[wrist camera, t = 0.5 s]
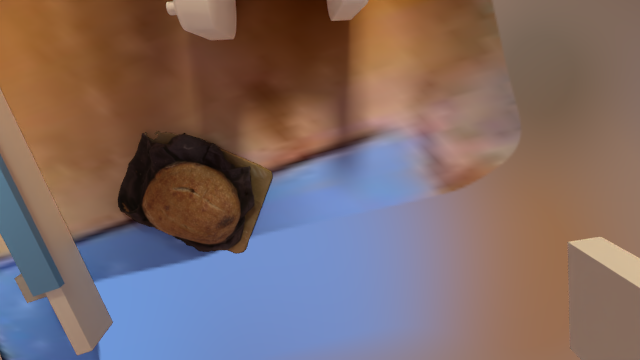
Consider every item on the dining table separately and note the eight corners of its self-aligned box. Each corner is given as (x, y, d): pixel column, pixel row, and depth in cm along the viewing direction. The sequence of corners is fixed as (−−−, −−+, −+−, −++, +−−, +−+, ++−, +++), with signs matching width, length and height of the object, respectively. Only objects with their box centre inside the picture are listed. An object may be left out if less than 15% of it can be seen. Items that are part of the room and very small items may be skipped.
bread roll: (278, 165, 37) (277, 175, 34) (241, 260, 39) (236, 279, 35) (147, 115, 36) (130, 119, 32) (113, 214, 37) (94, 229, 34)
